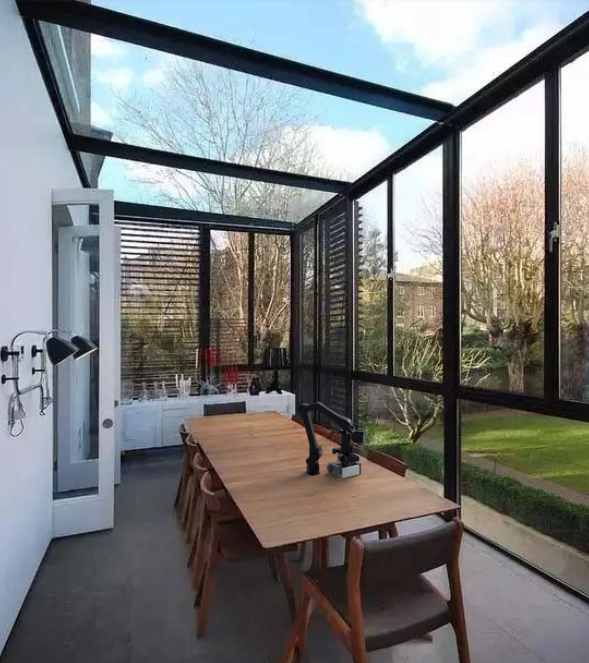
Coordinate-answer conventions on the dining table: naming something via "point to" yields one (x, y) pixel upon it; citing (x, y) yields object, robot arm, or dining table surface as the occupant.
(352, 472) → the side door
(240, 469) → the dining table surface
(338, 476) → the grey hollow rectangular block
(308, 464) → the robot arm
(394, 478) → the dining table surface
